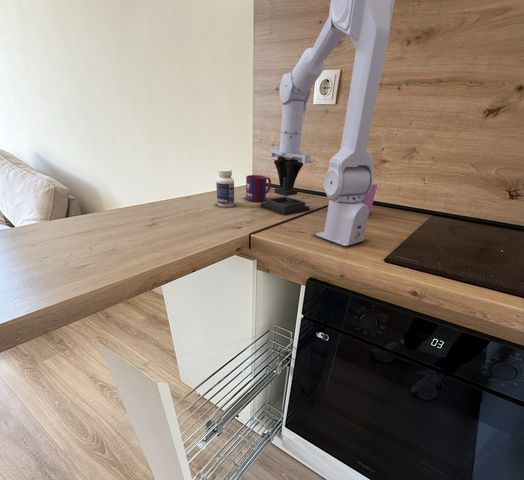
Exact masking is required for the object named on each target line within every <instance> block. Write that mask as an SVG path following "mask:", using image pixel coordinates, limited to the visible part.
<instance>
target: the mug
mask: <svg viewBox="0 0 524 480" xmlns="http://www.w3.org/2000/svg"><path fill="white" fill-rule="evenodd" d="M245 180H246V181H245V200H246V201H249V202H255V203H256V202H265V199H267V197H266V196H267V194H268V193H269V191H270V190H271V187H272V180H271V178H270V177H268V176H265V175H262V174H261V175H260V174H249V175H246V177H245ZM267 182H268V184H267Z"/></svg>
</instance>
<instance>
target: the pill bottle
mask: <svg viewBox="0 0 524 480" xmlns="http://www.w3.org/2000/svg"><path fill="white" fill-rule="evenodd" d="M217 175H218V177H217V178H216V180H215V182H216V183H215V184H216V204H217V206H218V207H222V208H227V207H228V208H231V207H234V206H235V180H234V178H232V175H233V172H232V169H229V168H218V169H217Z"/></svg>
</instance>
